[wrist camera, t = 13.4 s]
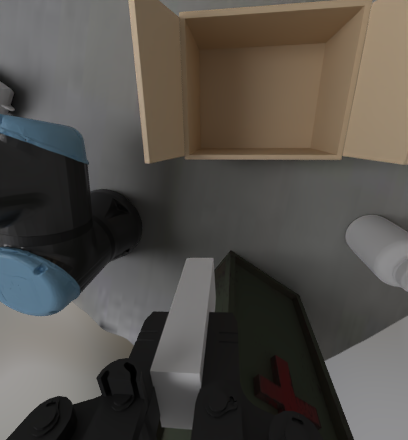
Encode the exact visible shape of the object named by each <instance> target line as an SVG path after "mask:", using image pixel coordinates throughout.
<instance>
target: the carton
mask: <svg viewBox="0 0 408 440" xmlns="http://www.w3.org/2000/svg"><path fill="white" fill-rule="evenodd" d="M371 5H372V0H334V1H321V2H308V3H294V4H281V5H268V6H255V7H242V8H229V9H215V10H202V11H189V12H179V21H180V45H181V70H182V95H183V119H184V144H185V159H208V160H341V158H342V153H343V148H344V143H345V138H346V133H347V128H348V123H349V117H350V112H351V107H352V102H353V97H354V92H355V87H356V82H357V77H358V71H359V66H360V61H361V56H362V51H363V46H364V41H365V36H366V30H367V25H368V20H369V15H370V10H371Z"/></svg>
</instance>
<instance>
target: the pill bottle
mask: <svg viewBox="0 0 408 440" xmlns="http://www.w3.org/2000/svg"><path fill="white" fill-rule="evenodd" d="M345 238H346V242H347V244H348V246H349V247H350V248H351V249H352V251H353V252H354V253H355V254H356V255H357V256H358V257H359V258H360V259H361V260H362V261H363V262H364V263H365V264H366V266H367V267H368V268H369V269H370V270H371V271H372V272H373V273H374V274H375V275H376V276H377V277H378V278H379V279H380V280H381V281H383V282H384V283H386V284H388V285H391V286H395V287H402V288H403V289H404V290H405V291H407V292H408V232H407V231H406V230H404V229H402V228H401V227H399V226H397V225H396V224H394V223H392V222H391V221H389V220H387V219H386V218H384V217H381V216H378V215H365V216H362V217H359V218H357V219H356V220H354V221H353V222H352V223H351V224H350V225H349V227H348V228H347V230H346V234H345Z"/></svg>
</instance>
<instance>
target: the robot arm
mask: <svg viewBox="0 0 408 440" xmlns="http://www.w3.org/2000/svg"><path fill="white" fill-rule="evenodd" d="M88 165H89V162H88V160H87V158H86V152H85V145H84V140H83V137H82V135H81V134H80V133H79V132H78V131H77V130H76V129H74V128H72V127H69V126H65V125H60V124H55V123H49V122H44V121H39V120H33V119H27V118H22V117H16V116H10V115H4V114H0V302H2V303H4V304H5V305H6V306H8V307H10V308H12V309H14V310H16V311H19V312H21V313H24V314H28V315H34V316H48V315H52V314H55V313H57V312H59V311H61V310H62V309H64V308H65V307H66V306H67V305H68V304H69V303H70V302H71V301H72V300H74V299H76V298H77V297H78V296H79V295H80V293H81V292H82V291H83V290H84V289H85V288H86V287H87V285H88V284H89V283H90V282H91V281H92V280H93V279H94V278H95V277H96V276H97V275H98V273H99V272H100V271H101V270H102V269H103V268H104V267H105V266H106V265H107V264H108V263H109V262H110V261H113V260H115V259H118V258H120V257H123V256H125V255H126V254H128V253H129V252H130V251H131V250H132V249H133V248H134V247H135V246H136V245H137V243H138V242H139V240H140V237H141V233H142V223H141V219H140V216H139V214H138V212H137V210H136V209H135V207H134V206H133V205H132V203H131V202H130V201H129V200H128V199H126V198H125V197H124V196H122V195H120V194H118V193H116V192H114V191H110V190H104V189H99V190H94V191H91V192H90V185H89V174H88ZM215 302H216V292H215V275H214V258H187V259H186V262H185V265H184V268H183V271H182V274H181V277H180V280H179V283H178V286H177V289H176V293H175V296H174V299H173V302H172V305H171V308H170V311H169V312H153V313H152V314H151V315H150V316H149V317H148V318H147V319H146V320H145V322H144V324H143V326H142V329H141V332H140V333H139V336H138V338H137V341H136V342H135V345H134V347H133V349H132V352H131V354H130V356H129V358H125V359H118V360H117V361H114V362H112V363H110V364H109V365H107V366H106V367H105V368H104V369H103V370H102V371H101V372H100V374H99V375H98V376H97V381H98V384H99V387H100V390H101V393H102V395H101V396H99V397H96V398H94V399H91V400H87V401H84V402H80V403H77V404H73V405H72V402H71V401H70V400H69V399H68V398H67V397H62V396H57V397H54V398H51V399H48V400H47V401H45V402H43V403H42V404H40V405H39V406H38V407H36V408H35V409H34V410H33V411H32V412H31V413H30V414H29V415H28V416H27V417H26V419H24V421H23V422H22V423H21V424H20V425H19V426H18V427H17V428H16V429H15V431H14V432H13V433H12V434H11V435H10V436H9V437H8V438H7V439H6V440H157V437H156V433H157V428H158V424H159V420H160V421H161V426H162V427H166V428H178V429H191V430H192V434H191V440H323V438H322V436H321V434H320V433H319V431H318V430H317V428H316V427H315V425H314V424H313V423H312V422H311V421H310V420H309V419H307V418H306V417H305V416H304V415H302V414H299V413H297V412H295V411H283V412H281V413H279V414H276V415H273V414H271V413H269V412H266V411H264V410H262V409H260V408H258V407H256V406H255V405H253V404H252V403H251V402H250V401H249V400H248V399H247V397H246V396H245V394H244V393H243V390H242V388H241V384H240V370H239V346H238V323H237V320H236V318H235V317H234V315H233V313H232V312H215Z"/></svg>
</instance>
